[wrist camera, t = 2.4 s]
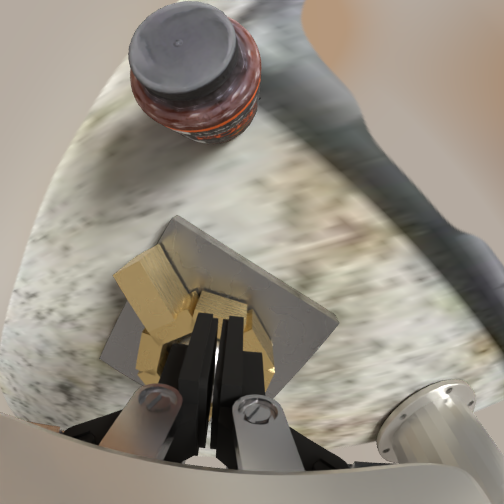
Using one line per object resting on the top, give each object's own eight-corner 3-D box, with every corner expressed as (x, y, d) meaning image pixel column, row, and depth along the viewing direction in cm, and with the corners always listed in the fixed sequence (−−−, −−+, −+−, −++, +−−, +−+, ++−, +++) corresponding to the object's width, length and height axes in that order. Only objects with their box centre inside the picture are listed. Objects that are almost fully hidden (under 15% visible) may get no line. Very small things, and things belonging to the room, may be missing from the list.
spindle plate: (334, 314, 24) (352, 349, 19) (230, 430, 27) (227, 470, 22) (177, 214, 22) (155, 228, 17) (101, 360, 25) (77, 393, 20)
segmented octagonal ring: (288, 371, 23) (293, 405, 19) (189, 406, 24) (181, 439, 20) (204, 219, 20) (192, 231, 16) (100, 276, 21) (74, 297, 17)
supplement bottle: (211, 162, 21) (168, 158, 10) (156, 105, 20) (74, 59, 9) (276, 105, 20) (299, 45, 9) (218, 49, 19) (189, -40, 8)
